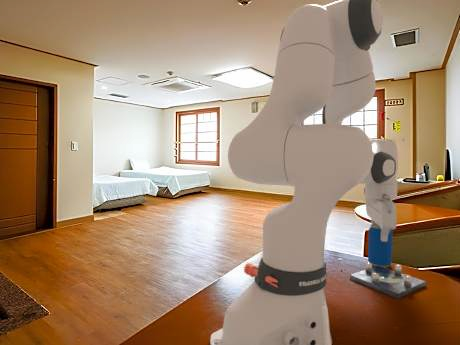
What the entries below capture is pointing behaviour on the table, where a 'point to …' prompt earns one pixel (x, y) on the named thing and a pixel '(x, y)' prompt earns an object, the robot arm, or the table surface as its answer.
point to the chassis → (388, 280)
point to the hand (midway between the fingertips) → (379, 236)
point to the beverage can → (379, 247)
